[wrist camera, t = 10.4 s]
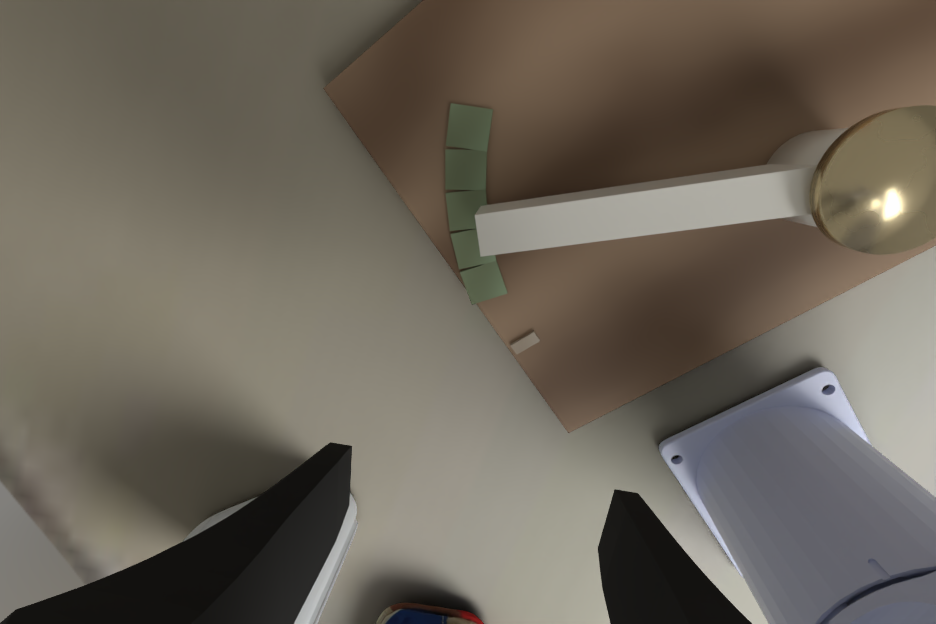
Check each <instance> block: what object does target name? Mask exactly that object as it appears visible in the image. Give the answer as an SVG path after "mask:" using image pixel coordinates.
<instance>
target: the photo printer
mask: <svg viewBox="0 0 936 624" xmlns="http://www.w3.org/2000/svg"><path fill="white" fill-rule="evenodd" d="M256 498H257V497H256ZM254 499H255V498H253V499H250V500H248V501H246V502H243V503H240V504H238V505H235V506H233V507H230V508H228V509H226V510H224V511H221V512H219V513H217V514H215V515H213V516H211V517H209V518H207V519H206V520H205V521H203V522H202V523H200V524H199V525H198V526H197V527H196V528H195V529H194V530H192V531H191V533H190V534H189V535H188V536H187V537H186V538H185V539H184V540H183V541H185V540H187V539H189V538H191V537H193V536H195V535H197V534H199V533H201V532H202V531H204V530H206V529H208V528H209V527H211V526H213V525H215V524H216V523H218V522H220V521H222V520H223V519H225V518H227V517H228V516H230V515H231V514H233V513H235V512H236V511H238V510H239V509H241V508H242V507H244V506H245V505H247V504H248V503H250V502H251V501H253V500H254ZM356 514H357V507H356V502H355V500H354V498H353V496H352V494H351V493H350V503H349V508H348V510H347V513H346V516H345V519H344V521H343V524H342V527H341V529H340V532H339V535H338V537H337V540H336V542H335V544H334V546H333V548H332V550H331V552H330V554H329V556H328V558H327V560H326V562H325V564H324V566H323V568H322V570H321V572H320V574H319V576H318V578H317V580H316V582H315V583H314V585H313V587H312V589H311V591H310V593H309V595H308V597H307V599H306V601H305V603H304V605H303V607H302V609H301V611H300V613H299V615H298V617H297V619H296V620H295V622H294V624H317V623H318V621H319V618H320V616H321V613H322V611H323V609H324V606H325V604H326V602H327V599H328V597H329V595H330V592H331V590H332V588H333V585H334V583H335V580H336V578H337V576H338V574H339V571H340V569H341V567H342V564H343V562H344V560H345V557H346V555H347V552H348V550H349V547H350V545H351V543H352V540H353V538H354V536H355V533H356V530H357V526H358V521H357V520H356Z"/></svg>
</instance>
